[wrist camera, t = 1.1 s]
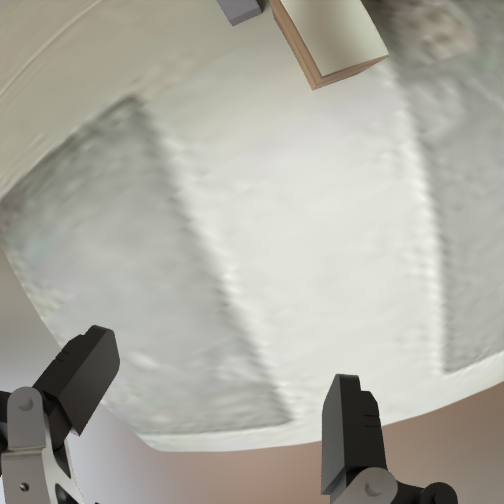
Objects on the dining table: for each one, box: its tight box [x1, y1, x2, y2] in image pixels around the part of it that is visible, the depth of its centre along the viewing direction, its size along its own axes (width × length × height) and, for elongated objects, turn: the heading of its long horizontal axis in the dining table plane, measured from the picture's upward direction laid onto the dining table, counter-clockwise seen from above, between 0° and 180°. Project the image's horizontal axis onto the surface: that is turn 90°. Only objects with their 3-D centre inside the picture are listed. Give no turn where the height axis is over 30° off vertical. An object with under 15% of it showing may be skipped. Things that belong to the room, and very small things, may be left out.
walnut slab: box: [270, 0, 389, 90], centre depth 19 cm, size 4×8×11 cm, turn 26°
